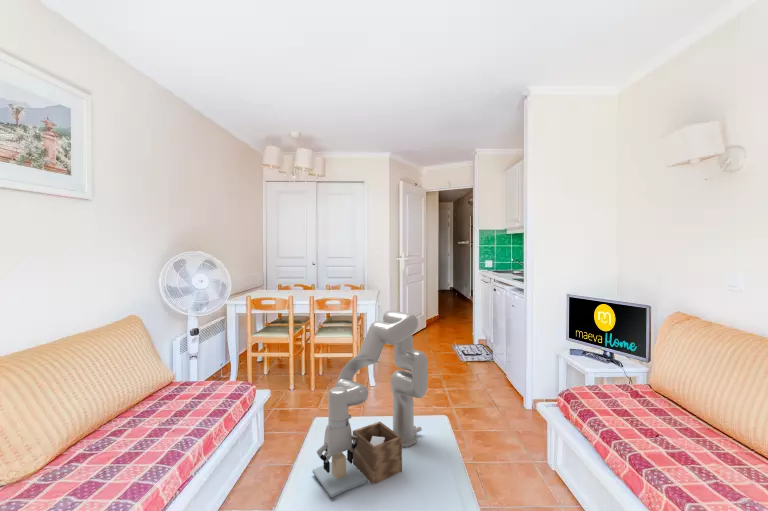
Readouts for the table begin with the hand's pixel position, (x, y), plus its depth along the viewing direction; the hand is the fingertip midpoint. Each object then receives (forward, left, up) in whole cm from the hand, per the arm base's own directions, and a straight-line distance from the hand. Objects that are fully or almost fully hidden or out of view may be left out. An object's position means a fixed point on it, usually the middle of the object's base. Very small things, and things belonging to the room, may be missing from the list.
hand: (338, 466), depth 130 cm
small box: (-16, +2, -6) cm, 17 cm away
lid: (0, 0, -5) cm, 5 cm away
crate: (-16, +2, -5) cm, 17 cm away
